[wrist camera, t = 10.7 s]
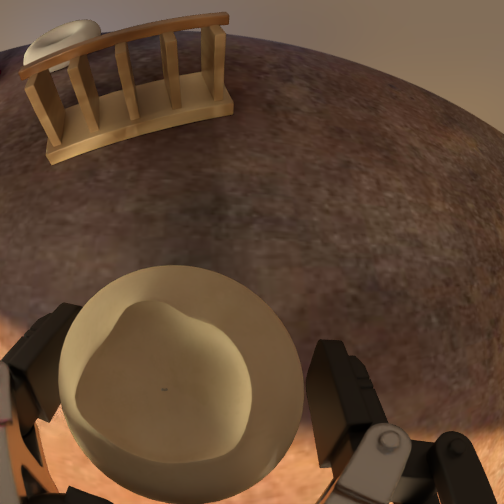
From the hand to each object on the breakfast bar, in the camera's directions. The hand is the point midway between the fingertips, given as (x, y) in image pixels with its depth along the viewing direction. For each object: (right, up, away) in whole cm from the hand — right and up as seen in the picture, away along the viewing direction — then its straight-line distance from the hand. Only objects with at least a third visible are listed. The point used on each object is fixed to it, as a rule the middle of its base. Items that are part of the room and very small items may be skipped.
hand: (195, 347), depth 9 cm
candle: (-1, -3, +4) cm, 5 cm away
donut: (-20, +26, +15) cm, 36 cm away
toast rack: (-7, +13, +11) cm, 18 cm away
